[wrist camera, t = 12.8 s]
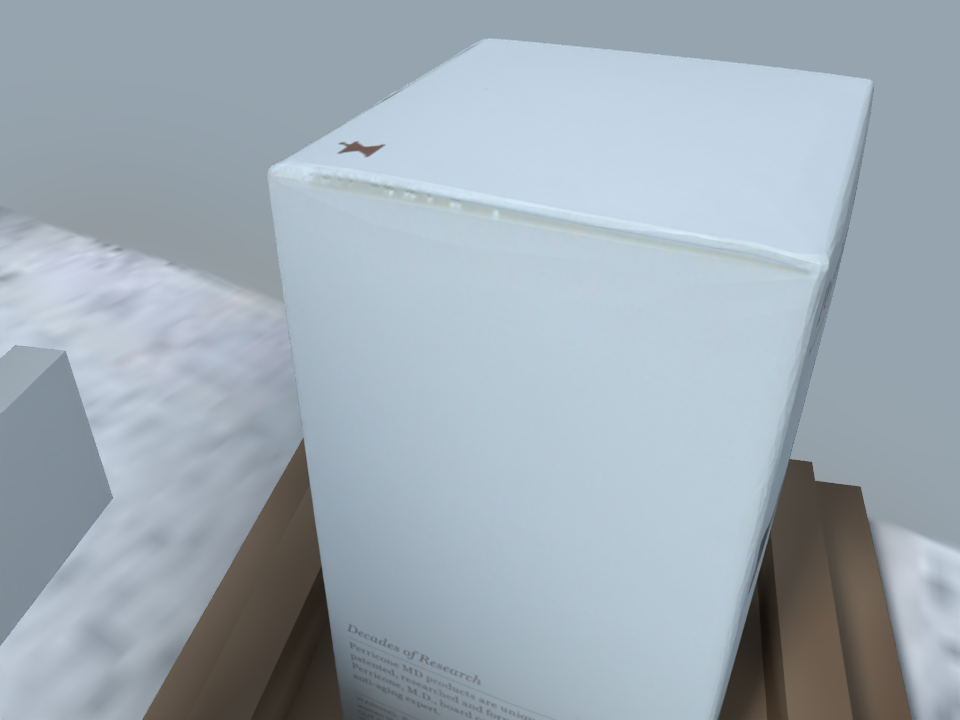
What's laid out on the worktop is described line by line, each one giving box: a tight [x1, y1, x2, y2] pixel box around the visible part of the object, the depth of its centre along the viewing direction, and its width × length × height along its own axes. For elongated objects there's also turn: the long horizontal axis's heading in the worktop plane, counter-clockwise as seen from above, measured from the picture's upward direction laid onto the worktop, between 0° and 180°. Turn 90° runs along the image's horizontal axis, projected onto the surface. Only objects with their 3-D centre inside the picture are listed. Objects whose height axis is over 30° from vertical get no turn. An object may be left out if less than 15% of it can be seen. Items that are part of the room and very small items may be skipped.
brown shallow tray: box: [143, 438, 912, 720], centre depth 20 cm, size 16×14×5 cm
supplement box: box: [267, 38, 874, 720], centre depth 17 cm, size 7×7×13 cm
